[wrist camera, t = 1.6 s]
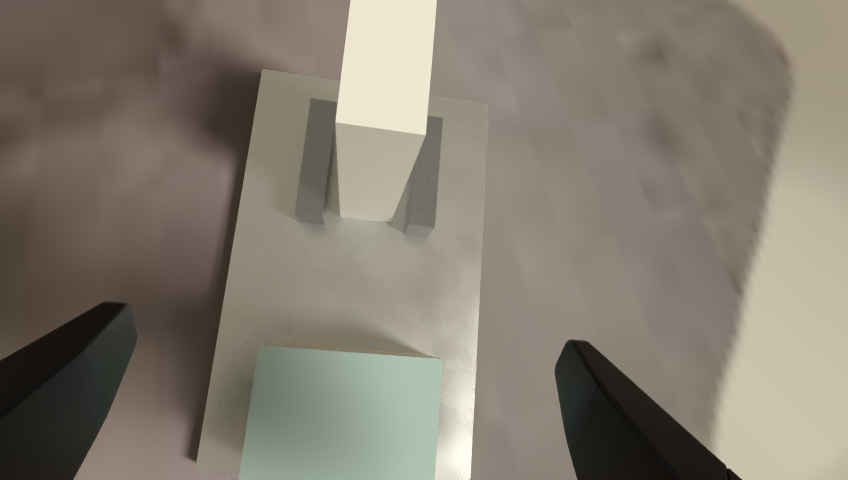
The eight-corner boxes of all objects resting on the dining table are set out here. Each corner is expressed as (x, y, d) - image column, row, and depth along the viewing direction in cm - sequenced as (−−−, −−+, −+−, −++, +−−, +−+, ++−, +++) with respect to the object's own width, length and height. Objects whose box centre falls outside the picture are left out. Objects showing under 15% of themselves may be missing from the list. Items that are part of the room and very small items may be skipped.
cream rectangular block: (390, 222, 23) (425, 135, 13) (340, 216, 23) (335, 122, 13) (398, 138, 24) (437, -5, 14) (350, 131, 24) (353, -20, 14)
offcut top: (424, 481, 19) (433, 497, 17) (248, 475, 18) (237, 491, 16) (433, 356, 20) (442, 358, 18) (267, 344, 19) (258, 345, 17)
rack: (464, 474, 22) (482, 495, 19) (202, 465, 21) (178, 487, 18) (483, 112, 26) (501, 84, 23) (265, 79, 25) (254, 44, 22)
